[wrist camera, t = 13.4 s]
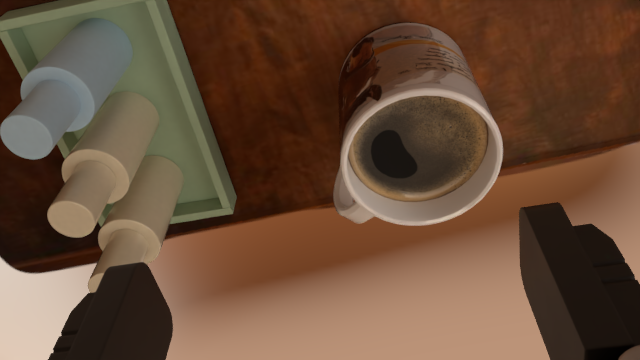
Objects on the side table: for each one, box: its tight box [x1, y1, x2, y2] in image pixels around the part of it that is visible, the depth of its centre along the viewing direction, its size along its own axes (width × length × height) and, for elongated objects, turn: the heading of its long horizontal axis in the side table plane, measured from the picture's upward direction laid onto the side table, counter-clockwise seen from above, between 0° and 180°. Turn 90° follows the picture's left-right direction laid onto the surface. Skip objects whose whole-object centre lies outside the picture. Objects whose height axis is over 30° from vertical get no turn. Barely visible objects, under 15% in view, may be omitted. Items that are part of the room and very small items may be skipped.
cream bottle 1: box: [47, 91, 159, 237], centre depth 41 cm, size 4×4×13 cm
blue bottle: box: [0, 18, 133, 159], centre depth 38 cm, size 4×4×13 cm
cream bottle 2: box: [88, 155, 184, 293], centre depth 44 cm, size 4×4×13 cm
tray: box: [0, 0, 237, 227], centre depth 46 cm, size 19×11×2 cm, turn 12°
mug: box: [333, 23, 503, 226], centre depth 41 cm, size 10×12×11 cm
